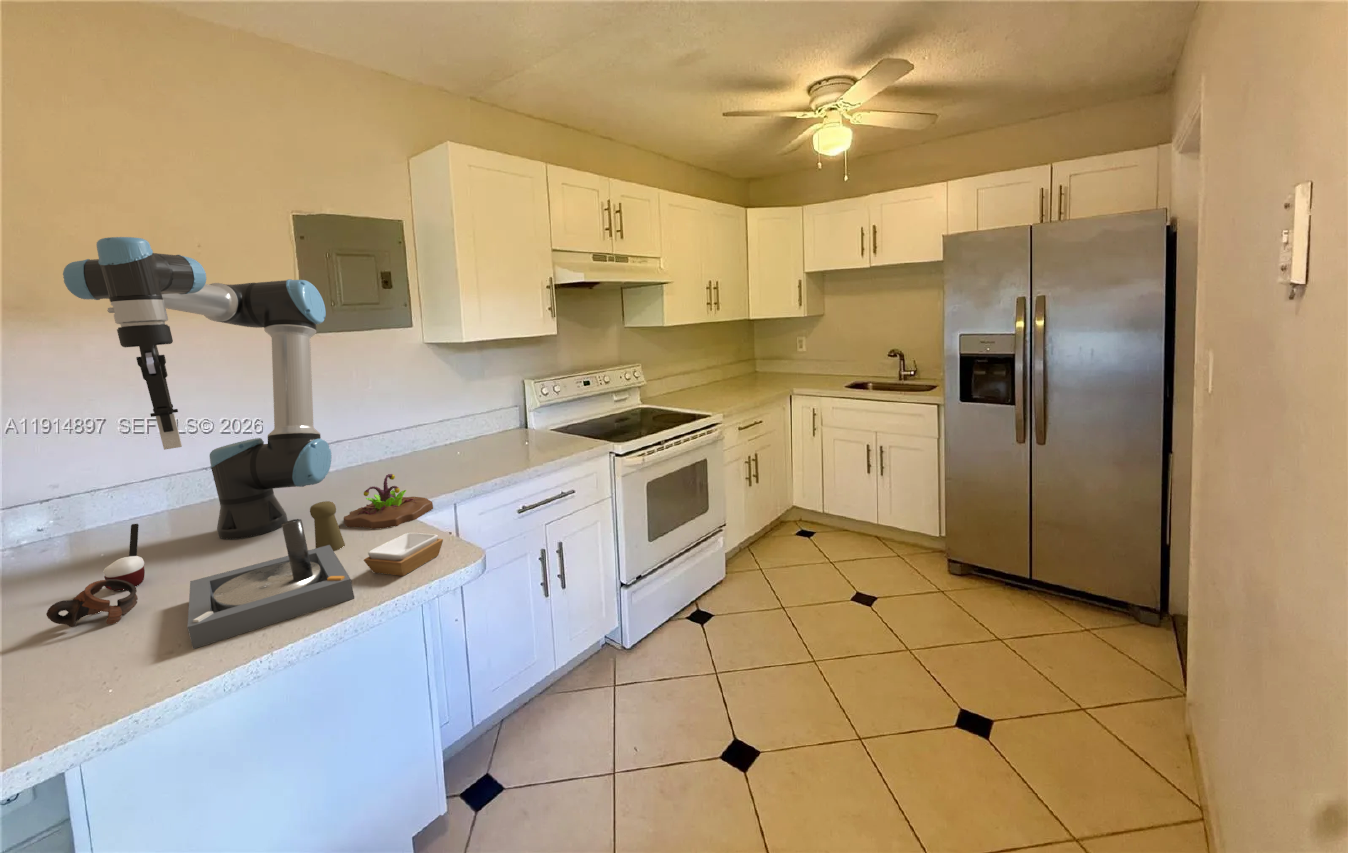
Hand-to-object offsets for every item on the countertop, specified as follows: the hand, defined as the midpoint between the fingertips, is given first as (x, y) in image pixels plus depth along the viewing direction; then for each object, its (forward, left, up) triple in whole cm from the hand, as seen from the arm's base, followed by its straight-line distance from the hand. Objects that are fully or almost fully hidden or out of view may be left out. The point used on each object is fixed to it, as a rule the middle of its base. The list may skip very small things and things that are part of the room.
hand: (173, 447), depth 117 cm
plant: (-20, +40, -30) cm, 53 cm away
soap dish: (+20, +34, -30) cm, 49 cm away
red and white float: (-15, -13, -30) cm, 36 cm away
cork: (-5, +23, -30) cm, 38 cm away
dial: (+17, +10, -28) cm, 34 cm away
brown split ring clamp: (+2, -16, -30) cm, 34 cm away
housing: (+17, +10, -29) cm, 35 cm away
